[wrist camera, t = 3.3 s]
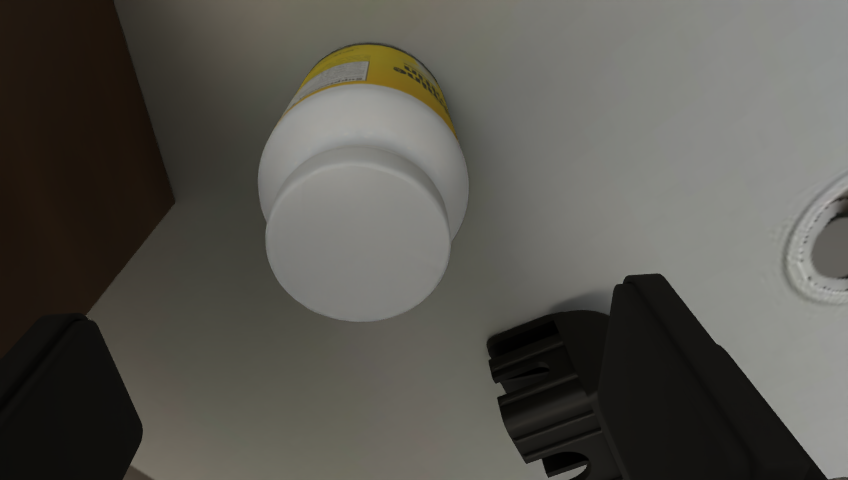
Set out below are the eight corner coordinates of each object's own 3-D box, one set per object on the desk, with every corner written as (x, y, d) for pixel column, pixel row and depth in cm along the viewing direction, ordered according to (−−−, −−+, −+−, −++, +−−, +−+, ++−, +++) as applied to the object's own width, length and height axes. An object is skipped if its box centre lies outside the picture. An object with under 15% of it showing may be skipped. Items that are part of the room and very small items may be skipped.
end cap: (644, 402, 33) (699, 501, 28) (538, 440, 35) (569, 543, 29) (601, 284, 29) (656, 374, 23) (480, 333, 30) (502, 430, 24)
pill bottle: (447, 179, 25) (487, 342, 15) (310, 188, 25) (257, 360, 15) (443, 33, 22) (490, 116, 12) (284, 42, 22) (196, 136, 12)
